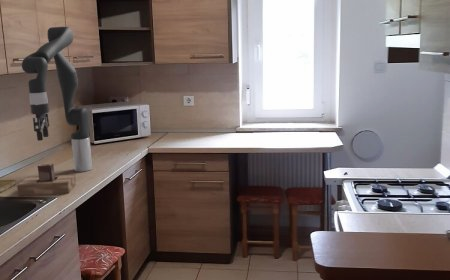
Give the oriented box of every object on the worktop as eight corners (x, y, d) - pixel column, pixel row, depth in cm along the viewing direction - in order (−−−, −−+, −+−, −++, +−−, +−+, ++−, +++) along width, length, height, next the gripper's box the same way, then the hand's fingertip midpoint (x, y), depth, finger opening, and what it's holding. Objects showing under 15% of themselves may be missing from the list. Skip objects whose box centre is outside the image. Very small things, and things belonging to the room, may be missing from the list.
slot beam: (28, 187, 227) (27, 177, 226) (76, 184, 228) (75, 174, 227) (18, 196, 213) (17, 185, 212) (68, 193, 214) (67, 182, 214)
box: (56, 188, 223) (53, 163, 221) (53, 191, 219) (50, 165, 217) (43, 189, 223) (40, 163, 221) (40, 191, 219) (37, 166, 216)
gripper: (35, 101, 220) (39, 136, 223) (25, 105, 206) (29, 142, 209) (52, 100, 221) (56, 135, 224) (42, 104, 207) (47, 141, 210)
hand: (43, 138), depth 216 cm, fingers open, 8 cm apart
